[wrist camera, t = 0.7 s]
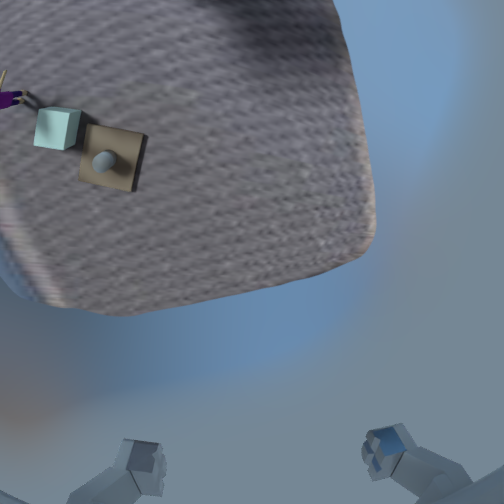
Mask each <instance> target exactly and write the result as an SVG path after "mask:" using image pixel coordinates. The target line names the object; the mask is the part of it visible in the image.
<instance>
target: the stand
mask: <svg viewBox="0 0 504 504" xmlns="http://www.w3.org/2000/svg"><path fill="white" fill-rule="evenodd" d="M143 136H144V134H143V133H138V132H133V131H128V130H123V129H118V128H112V127H107V126H102V125H96V124H90V123H89V124H87V128H86V133H85V139H84V145H83V150H82V157H81V163H80V170H79V178H78V181H82V182H87V183H92V184H96V185H101V186H106V187H110V188H115V189H119V190H124V191H128V192H131V191H132V187H133V181H134V177H135V172H136V167H137V162H138V158H139V153H140V149H141V145H142V141H143Z"/></svg>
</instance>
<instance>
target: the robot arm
mask: <svg viewBox="0 0 504 504" xmlns="http://www.w3.org/2000/svg"><path fill="white" fill-rule="evenodd" d="M366 438H367V440H366V441H365V442H364V443H363V446H362V458H363V461H364V463H366V464H367V465H369V468H368V472H369V475H370V477H371V479H372V481H377V480H381V479H385V478H388V477H391V478H392V479H393V480H394V481H396V482H397V483H399V484H400V485H402V486H403V487H405V488H406V489H407V490H409V491H411V492H412V493H413V494H415V495H416V496H418V497H419V499H418V500H417V502H416V503H415V504H504V465H503V466H501V467H500V468H498V469H496V470H495V471H493V472H491V473H490V474H488V475H486V476H485V477H483V478H481V479H479V480H478V481H476V482H474V483H473V481H472V480H471V479H470V477H469V475H468V474H467V473H466V471H465V470H464V468H463V467H462V465H460V464H458V463H456V462H454V461H451V460H449V459H447V458H445V457H442V456H440V455H438V454H436V453H434V452H432V451H429V450H427V449H425V448H423V447H417V445H416V443H415V442H414V440H413V438H412V437H411V435H410V434H409V432H408V431H407V429H406V428H405V426H404V425H403V424H402V423H399V424H395V425H391V426H386V427H382V428H378V429H373V430H369V431H368V432H367V434H366ZM162 450H163V448H162V445H161V443H153V442H146V441H145V442H144V441H138V440H130V439H123V440H122V441H121V444H120V447H119V450H118V453H117V456H116V459H115V462H114V465H113V468H112V467H109V468H107V469H106V470H105V471H103V472H102V473H100V474H99V475H97V476H96V477H94V478H93V479H91V480H90V481H89V482H87V483H86V484H84V485H83V486H81V487H80V488H78V489H76V490H75V491H73V492H72V493H71V494H70V496H69V498H68V501H67V504H133V503H134V502H136V500H138V499H139V498H140V497H141V494H142V495H150V496H160V497H161V496H162V494H163V488H164V483H163V480H162V478H163V477H165V475H166V459H165V456H164V454H162ZM0 504H29V503H26V502H24V501H22V500H20V499H18V498H15V497H13V496H11V495H9V494H7V493H5V492H3V491H1V490H0Z"/></svg>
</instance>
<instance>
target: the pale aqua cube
mask: <svg viewBox="0 0 504 504" xmlns="http://www.w3.org/2000/svg"><path fill="white" fill-rule="evenodd" d="M81 111H82V110H76V109H69V108H61V107H53V106H52V107H47V108H42V109H39V112H38V118H37V125H36V131H35V139H34V145H35V146H41V147H47V148H53V149H59V150H65V149H67V148H69V147H71V146H73V145H75V143H76V137H77V131H78V126H79V121H80V116H81Z"/></svg>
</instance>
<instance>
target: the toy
mask: <svg viewBox="0 0 504 504" xmlns="http://www.w3.org/2000/svg"><path fill="white" fill-rule="evenodd" d="M6 72H7V70H5V71H4V72H3V74H2V77H1V80H0V91H1V87H2V84H3V81H4V78H5V75H6ZM24 95H27V91H25V90H20V91H14V92H9V91H7V92H0V109H4V108H8V107H10V106H13V105H18V104H22V103H24V99H22V98H18V99H14V100H13V98H14V97H19V96H24Z"/></svg>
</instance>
